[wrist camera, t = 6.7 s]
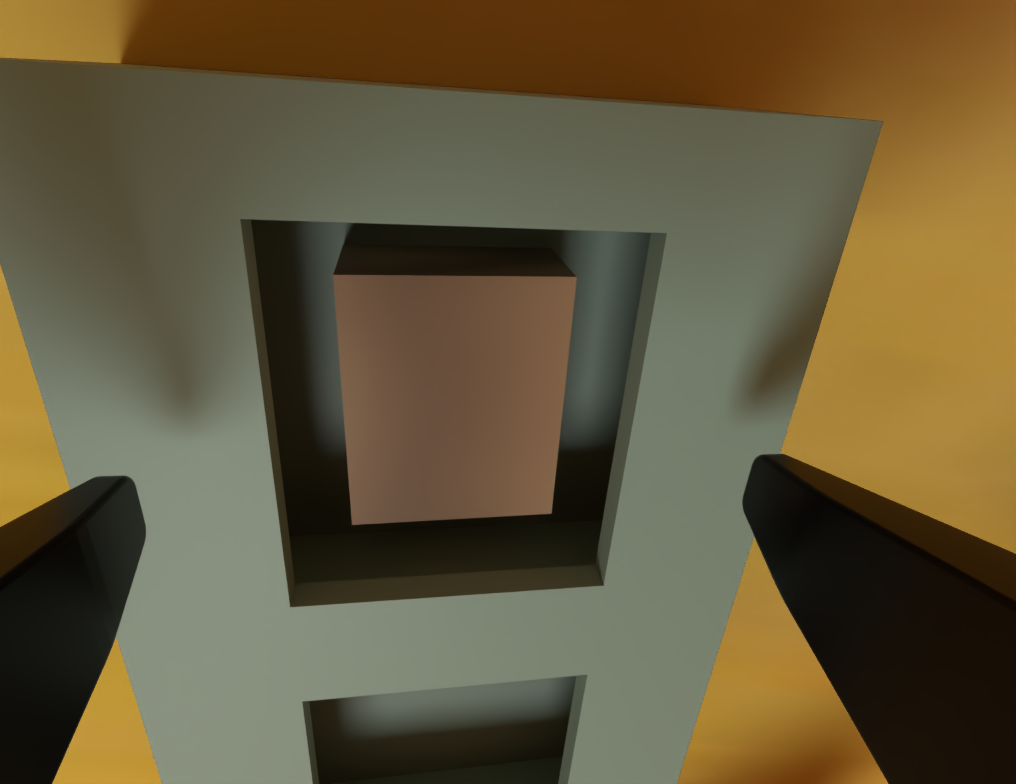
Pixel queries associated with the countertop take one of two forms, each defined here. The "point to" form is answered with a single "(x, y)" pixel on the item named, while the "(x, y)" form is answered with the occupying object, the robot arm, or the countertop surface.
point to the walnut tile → (452, 378)
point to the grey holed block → (320, 419)
